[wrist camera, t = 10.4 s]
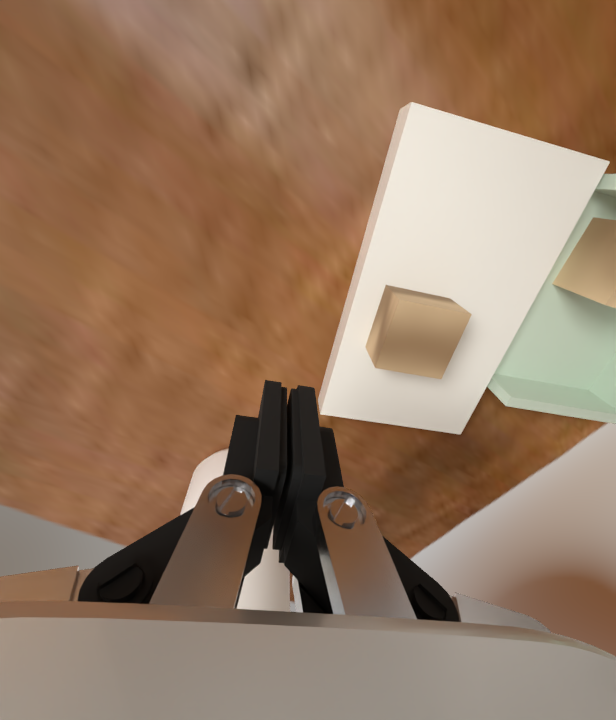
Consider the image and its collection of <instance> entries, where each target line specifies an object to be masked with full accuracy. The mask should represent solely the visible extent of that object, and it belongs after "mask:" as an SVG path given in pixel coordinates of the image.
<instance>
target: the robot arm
mask: <svg viewBox="0 0 616 720" xmlns="http://www.w3.org/2000/svg"><path fill="white" fill-rule="evenodd" d="M272 528H273V545H272V547H273V550H279V563H284V565H285V567H286V568H287V569H288V570H289V571H290V572H291V573H292V574H293V578H292V586H293V592H294V599H295V605H296V612H286V611H268V610H250V609H237V606H238V602H239V598H240V594H241V590H242V586H243V582H244V578H245V576H246V575H247V574H249V573H250V572H251V571H252V570H253V569H254V568H255V567H257V566H258V565H259V564H260V563H261V559H262V555H263V551H264V549H267V548H268V544H269V540H270V536H271V532H272ZM0 720H616V656H613V655H611V654H609V653H607V652H605V651H603V650H601V649H599V648H597V647H595V646H592V645H589V644H587V643H584V642H581V641H578V640H575V639H572V638H569V637H566V636H563V635H559V634H554V633H551V632H550V631H549V629H547V628H546V627H545V626H544V625H543V624H541V623H540V622H539V621H537V620H535V619H533V618H531V617H529V616H527V615H524V614H520V613H518V612H515V611H511V610H508V609H505V608H502V607H499V606H496V605H493V604H490V603H487V602H483V601H481V600H477V599H474V598H471V597H468V596H465V595H462V594H459V593H455V594H454V595H453V596H450V595H449V594H448V593H447V592H446V591H445V590H444V589H443V588H442V586H440V585H439V584H438V583H437V582H436V581H435V580H434V579H433V578H431V577H430V576H429V575H428V574H427V573H426V572H424V571H423V570H422V569H421V568H419V567H418V566H417V565H416V564H415V563H414V562H413V561H411V560H410V559H409V558H408V557H407V556H405V555H404V554H403V553H402V552H401V551H400V550H398V549H397V548H396V547H395V546H394V545H392V544H391V543H390V542H389V541H388V540H387V539H385V538H384V537H383V536H382V535H381V532H380V530H379V527H378V525H377V523H376V520H375V518H374V515H373V513H372V511H371V508H370V507H369V505H368V503H367V502H366V500H365V499H364V498H363V497H362V496H361V495H359V494H358V493H356V492H355V491H353V490H351V489H348V488H345V487H344V486H343V481H342V475H341V470H340V465H339V459H338V454H337V449H336V443H335V438H334V433H333V430H332V429H331V428H325V427H320V426H319V419H318V411H317V404H316V397H315V389H314V388H312V387H306V386H300V385H298V387H297V389H291V391H290V396H289V400H288V404H287V388H285V387H281V382H274V381H268V380H265V384H264V389H263V395H262V400H261V405H260V411H259V416H258V418H254V417H247V416H240V415H236V418H235V422H234V427H233V431H232V436H231V440H230V445H229V450H228V454H227V459H226V463H225V468H224V472H223V475H222V476H220V477H217V478H215V479H213V480H212V481H210V482H209V483H208V484H207V485H206V487H205V488H204V489H203V491H202V493H201V495H200V497H199V499H198V502H197V504H196V506H195V507H194V508H192V509H190V510H189V511H187V512H185V513H184V514H182V515H180V516H178V517H177V518H175V519H173V520H172V521H170V522H168V523H166V524H165V525H163V526H161V527H160V528H158V529H156V530H155V531H153V532H151V533H149V534H148V535H146V536H144V537H143V538H141V539H139V540H137V541H136V542H134V543H132V544H131V545H129V546H127V547H126V548H124V549H122V550H120V551H119V552H117V553H115V554H114V555H112V556H110V557H108V558H107V559H105V560H104V561H103V562H101V563H100V564H99V565H97V566H96V567H95V568H92V569H85V570H79V566H72V567H65V568H57V569H50V570H44V571H36V572H29V573H22V574H15V575H8V576H1V577H0Z"/></svg>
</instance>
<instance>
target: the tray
mask: <svg viewBox="0 0 616 720" xmlns="http://www.w3.org/2000/svg"><path fill="white" fill-rule="evenodd" d="M593 217H595V218H603V219H610V220H616V174H603V176H602V178H601V179H600V181H599V183H598V185H597V187H596V188H595V190H594V192H593V194H592V196H591V198H590V199H589V201H588V203H587V205H586V207H585V209H584V210H583V212H582V214H581V216H580V218H579V219H578V221H577V223H576V225H575V227H574V229H573V230H572V232H571V234H570V236H569V238H568V240H567V241H566V243H565V245H564V247H563V249H562V250H561V252H560V254H559V256H558V258H557V260H556V261H555V263H554V265H553V267H552V269H551V271H550V272H549V274H548V276H547V278H546V280H545V281H544V283H543V285H542V287H541V289H540V291H539V292H538V294H537V296H536V298H535V300H534V302H533V303H532V305H531V307H530V309H529V311H528V312H527V314H526V316H525V318H524V320H523V322H522V323H521V325H520V327H519V329H518V331H517V333H516V334H515V336H514V338H513V340H512V342H511V343H510V345H509V347H508V349H507V351H506V353H505V354H504V356H503V358H502V360H501V362H500V364H499V365H498V367H497V369H496V371H495V373H494V374H493V376H492V378H491V380H490V382H489V384H488V385H487V387H488V388H489V389H490V390H491V391H492V392H493V393H494V394H495V395H496V396H497V397H498V398H499V400H500V401H501V402H502V403H503V404H504V405H505V406H508V407H515V408H521V409H527V410H533V411H539V412H545V413H552V414H558V415H564V416H570V417H576V418H582V419H589V420H595V421H601V422H607V423H613V424H616V308H613V307H610V306H607V305H604V304H601V303H599V302H596V301H594V300H591V299H589V298H586V297H584V296H581V295H579V294H576V293H574V292H571V291H569V290H566V289H564V288H561V287H559V286H556V285H554V284H552V283H553V282H554V280H555V278H556V277H557V275H558V274H559V272H560V270H561V269H562V267H563V265H564V264H565V262H566V261H567V259H568V257H569V256H570V254H571V253H572V251H573V249H574V248H575V246H576V244H577V243H578V241H579V240H580V238H581V236H582V235H583V233H584V232H585V230H586V228H587V227H588V225H589V223H590V222H591V220H592V219H593Z"/></svg>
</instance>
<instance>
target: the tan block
mask: <svg viewBox="0 0 616 720" xmlns="http://www.w3.org/2000/svg"><path fill="white" fill-rule="evenodd" d="M471 315H472V314H471V313H469V312H468V311H467V310H465V309H464V308H462V307H461V306H460V305H458V304H457V303H456V302H454V301H453V300H452V299H450V298H446V297H442V296H437V295H432V294H427V293H423V292H418V291H413V290H408V289H404V288H399V287H394V286H389V285H386V286H385V289H384V292H383V295H382V298H381V301H380V304H379V307H378V310H377V313H376V316H375V319H374V322H373V325H372V328H371V331H370V334H369V337H368V340H367V343H366V346H365V348H366V350H367V352H368V354H369V356H370V358H371V360H372V363H373V365H374V367H375V368H377V369H383V370H389V371H395V372H401V373H407V374H413V375H419V376H424V377H430V378H436V379H442V377H443V375H444V373H445V370H446V368H447V366H448V364H449V362H450V360H451V358H452V356H453V353H454V351H455V349H456V347H457V345H458V343H459V341H460V339H461V336H462V334H463V332H464V330H465V328H466V326H467V324H468V322H469V319H470V317H471Z"/></svg>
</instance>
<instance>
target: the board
mask: <svg viewBox="0 0 616 720" xmlns="http://www.w3.org/2000/svg"><path fill="white" fill-rule="evenodd" d="M609 163H610V162H609V161H606V160H603V159H599V158H596V157H593V156H589V155H586V154H583V153H579V152H576V151H573V150H569V149H566V148H563V147H559V146H556V145H553V144H550V143H546V142H543V141H540V140H536V139H533V138H530V137H526V136H523V135H520V134H516V133H513V132H510V131H506V130H503V129H500V128H496V127H493V126H490V125H486V124H483V123H480V122H476V121H473V120H470V119H466V118H463V117H460V116H456V115H453V114H450V113H446V112H443V111H440V110H436V109H433V108H430V107H426V106H423V105H420V104H416V103H413V102H411V103H409V104H408V105H406V106H404V107H403V108H401V109H400V111H399V114H398V118H397V122H396V125H395V129H394V132H393V136H392V139H391V143H390V146H389V150H388V153H387V157H386V160H385V164H384V168H383V171H382V175H381V178H380V182H379V185H378V189H377V192H376V196H375V199H374V203H373V207H372V210H371V214H370V217H369V221H368V224H367V228H366V231H365V235H364V238H363V242H362V245H361V249H360V253H359V256H358V260H357V263H356V267H355V270H354V274H353V277H352V281H351V284H350V288H349V292H348V295H347V299H346V302H345V306H344V309H343V313H342V316H341V320H340V323H339V327H338V331H337V334H336V338H335V341H334V345H333V348H332V352H331V355H330V359H329V362H328V366H327V369H326V373H325V377H324V380H323V384H322V387H321V391H320V394H319V398H318V402H319V409H320V414H322V415H329V416H336V417H343V418H350V419H357V420H364V421H371V422H378V423H384V424H391V425H398V426H405V427H412V428H419V429H426V430H433V431H440V432H447V433H454V434H460V435H461V433H462V431H463V429H464V427H465V426H466V424H467V422H468V420H469V418H470V416H471V415H472V413H473V411H474V409H475V407H476V405H477V404H478V402H479V400H480V398H481V396H482V395H483V393H484V391H485V389H486V387H487V385H488V384H489V382H490V380H491V378H492V376H493V374H494V373H495V371H496V369H497V367H498V365H499V364H500V362H501V360H502V358H503V356H504V354H505V353H506V351H507V349H508V347H509V345H510V343H511V342H512V340H513V338H514V336H515V334H516V333H517V331H518V329H519V327H520V325H521V323H522V322H523V320H524V318H525V316H526V314H527V312H528V311H529V309H530V307H531V305H532V303H533V302H534V300H535V298H536V296H537V294H538V292H539V291H540V289H541V287H542V285H543V283H544V281H545V280H546V278H547V276H548V274H549V272H550V271H551V269H552V267H553V265H554V263H555V261H556V260H557V258H558V256H559V254H560V252H561V250H562V249H563V247H564V245H565V243H566V241H567V240H568V238H569V236H570V234H571V232H572V230H573V229H574V227H575V225H576V223H577V221H578V219H579V218H580V216H581V214H582V212H583V210H584V209H585V207H586V205H587V203H588V201H589V199H590V198H591V196H592V194H593V192H594V190H595V188H596V187H597V185H598V183H599V181H600V179H601V178H602V176H603V174H604V172H605V170H606V168H607V167H608V165H609ZM386 285H389V286H394V287H399V288H404V289H408V290H413V291H418V292H423V293H427V294H432V295H437V296H442V297H446V298H450V299H452V300H453V301H454V302H456V303H457V304H458V305H460V306H461V307H462V308H464V309H465V310H467V311H468V312H469V313H471V314H472V315H471V317H470V319H469V322H468V324H467V326H466V328H465V330H464V332H463V334H462V336H461V339H460V341H459V343H458V345H457V347H456V349H455V351H454V353H453V356H452V358H451V360H450V362H449V364H448V366H447V368H446V370H445V373H444V375H443V377H442V379H436V378H430V377H424V376H419V375H413V374H407V373H401V372H395V371H389V370H383V369H377V368H375V367H374V365H373V363H372V360H371V358H370V356H369V354H368V352H367V350H366V348H365V346H366V343H367V340H368V337H369V334H370V331H371V328H372V325H373V322H374V319H375V316H376V313H377V310H378V307H379V304H380V301H381V298H382V295H383V292H384V289H385V286H386Z"/></svg>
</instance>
